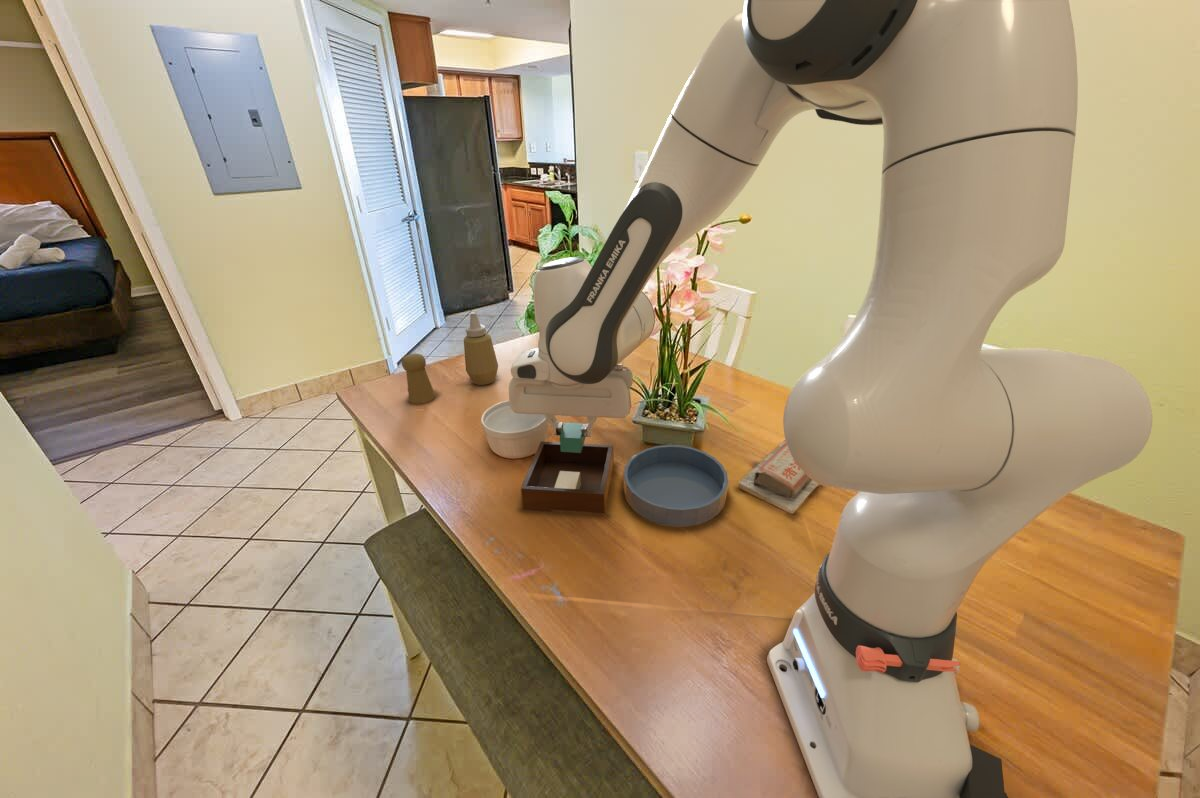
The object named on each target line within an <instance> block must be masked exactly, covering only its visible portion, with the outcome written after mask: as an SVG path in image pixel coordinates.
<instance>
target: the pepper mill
mask: <svg viewBox="0 0 1200 798" xmlns="http://www.w3.org/2000/svg"><path fill="white" fill-rule="evenodd" d="M426 364H427V363H426V358H425V356H423V354H420V353H410V354H406V355H404V357H403V358H402V360H401V367H402V368H403V370H404V371H406V381H407V392H408V401H409V402H410V403H411V404H415V405H421V404H426V403H429V402H431V401H433V400H434V399H435V397H436V393H435V390H434V388H433V385H432V383H431V380H430V377H429V375H428V373H427V370H426Z"/></svg>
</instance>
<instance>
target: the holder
mask: <svg viewBox="0 0 1200 798" xmlns="http://www.w3.org/2000/svg"><path fill="white" fill-rule="evenodd" d="M614 463H615V462H614V445H613V444H597V443H595V444H594V443H584V445H583V448H582V452H581V453H574V452H561V449H560V441H559V442H557V441H546V442H541V443H540V445H539V447H538V449H537V452H536V453H535V454H534V457H533V458H532V462H531V464H530V466H529V469H528V471H527V473H526V475H525V478H524V480H523V483H522V485H521V487H520V492H521V499H522V506H523V511H537V512H538V511H539V512H550V513H551V512H552V511H564V512H565V511H566V512H579V513H594V514H606V508H607V502H608V497H609V491H610V486H611V480H612V476H613V475H612V474H613V468H614ZM560 471H570V472H580V479H581V487H580V489H565V488H554V487H555V484H556V481H557V478H558V475H559V472H560Z"/></svg>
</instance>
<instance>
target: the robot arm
mask: <svg viewBox="0 0 1200 798" xmlns="http://www.w3.org/2000/svg"><path fill="white" fill-rule="evenodd" d="M742 9H743V10H742V11H741V10H740V11H738V13H735V14H733V15H732V16H730V17H729V18H728V19H727V20H726V21H725V22H724V24H723V25H722V26H721V27H720V29H719V30H718V32H717V33H716V34H715V36H714V37H713V38H712V40H711V42H710V43H709V45H708V46H707V48H706V49H705V51H704V53H702V55H701V57H700V59H699V60H698V61H697V64H696V65H695V67H694V68H693V70H692V72H691V74H690V75H689V78H688V79H687V81H686V82H685V84H684V86H683V88H682V90H681V92H680V94H679V95H678V97H677V100H676V101H675V103H674V105H673V108H672V110H671V112H670V114H669V116H668V118H667V120H666V123H665V124H664V127H663V129H662V131H661V133H660V135H659V138H658V140H657V142H656V144H655V146H654V148H653V150H652V152H651V155H650V157H649V159H648V162H647V163H646V166H645V167H644V169H643V172H642V174H641V176H640V177H639V180H638V182H637V184H636V186H635V187H634V189H633V191H632V193H631V195H630V197H629V200H628V202H627V204H626V205H625V207H624V209H623V211H622V213H621V214H620V216H619V218H618V219H617V222H616V223H615V225H614V227H613V228H612V230H611V232H610V233H609V234H608V235H609V236H608V237H607V239H606V241H605V243H604V244H603V246H602V248H601V250H600V252H599V253H598V256H597V257H596V259H595V261H594V263H593V264H592V265H591V263H590V262H589V261H588V260H587V259H585V258H583V257H578V256H569V257H562V258H559V259H556V260H552V261H549V262H547V263H545V264H542V265H541V266H539V268H538V269H537V270H536V272H535V274H534V280H533V309H534V320H535V324H536V326H537V329H538V334H539V336H538V342H537V346H536V347H534V348H530V349H526V350H523V351H522V352H520V353H519V355H517V357H516V358H515V359H514V360H513V362H512V365H511V367H510V375H511V377H512V378H511V380H510V382H509V383H508V384H509V386H508V400H509V404H510V408H511V409H512V410H513V411H514V412H515V413H519V414H541V415H545V418H546V420H547V422H548V425H550V427H551V428H552V434H553V436H560V435H561V432H562V429H563V427H564V422H561V421H559V420H558V419H557V417H556V416H562V417H563V416H564V417H565V416H566V417H586V421H587V423H585V424H583V425H582V428H581V432H582V437H586V438H591V435H592V427H593V426H594V425H595V423H596V421H597V418H604V419H605V418H607V419H608V418H609V419H625V418H627V417H628V415H630V413H631V409H632V408H631V407H632V399H631V390H630V389H631V387H632V385H633V380H634V379H633V378H634V377H633V372H632V370H631V369H630V368H629V367H628V366H625V365H624V363H621V362H623V361H624V360H625V359H626V358H628V356H629V355H631V354H632V353H633V352H634V351H635V350H636V349H638V348H639V347H640V346H641V345H642V344H643V343H644V342H645V341H646V340H647V339H649V337H650V336H651V334H652V333H653V331H654V329H655V324H656V315H655V309H654V307H653V304H652V302H651V301H650V299H649V297H648V296H647V295H646V294H645V293H644V292H643V290H644V289H645V287H646V286H647V284H648V282H649V281H650V279H651V278H652V276H653V274H654V273H655V272H656V270H657V269H658V268H659V266H660V265H661V264H662V263H663V262H664V261H665V259H667V258H668V257H669V256H670V255H671V254H672V253H673V252H674V251H675V250H677V248H679V247H680V246H682V245H683V244H684V243H685V242H686V241H688V240H689V239H691V238H692V237H693V236H694V235H696V234H698V233H699V232H701V231H702V230H703V229H705V228H706V227H707V226H709V225H710V224H712V223H713V222H715V221H716V220H717V219H718V218H719V217H721V215H722V214H723V213H724V212H725V211H726V210H727V209H728V207H730V205H731V204H732V203H733V202H734V201H735V200H736V199H737V197H738V196H739V195H740V193H741V192H742V191H743V189H744V188H745V187H746V186H747V184H748V183H749V181H750V180H751V179H752V177H753V176H754V174H755V172H756V171H757V170H758V168H759V166H760V164H761V163H762V161H763V160H764V158H765V156H766V154H767V153H768V151H769V149H770V148H771V146H772V144H773V142H774V141H775V140H776V138H777V136H778V135H779V134H780V132H781V131H782V130H783V128H784V127H785V126H786V124H787V123H789V122H790V121H791V120H792V119H793V118H794V117H796V116H798V115H799V114H801V113H804V112H806V111H810V110H814V111H815V113H816V115H817V116H818V118H820V119H822V120H829V121H835V122H844V123H847V124H853V125H857V126H858V125H859V126H881V125H882V127H883V147H882V164H881V182H880V183H881V185H880V204H879V205H880V206H879V219H878V230H877V240H876V249H875V257H874V265H873V269H872V273H871V278H870V282H869V286H868V287H867V291H866V294H865V297H864V299H863V301H862V304H861V306H860V308H859V310H858V311H857V313H856V316H855V318H854V319H853V321H852V322H851V324H850V325H849V328H848V329H847V330H846V332H845V333H844V334H843V336H842V337H841V339H840V340H839V341H838V342H837V343H836V344H835V345H834V347H833V348H832V349H831V350H830V351H829V352H828V353H827V354H826V355H825V356H824V357H823V358H821V359H820V360H819V361H817V362H815V364H814V365H812V366H810V367H809V368H808V369H806V371H804V372H803V374H802V375H800V376H799V378H798V379H797V380H796V382H795V384H794V385H793V386H792V388H791V390H790V392H789V394H788V396H787V399H786V402H785V406H784V410H783V418H782V426H783V427H782V428H783V434H784V440H786V443H787V446H788V448H789V451H790V453H791V455H792V457H793V459H794V460H795V462H796V463H797V464H798V466H799V467H800V468H801V469H802V471H803V472H804V473H805V474H806V475H807V476H808V477H809V478H811V479H812V480H813V481H814V482H816V483H818V484H820V485H819V486H824V487H830V488H834V489H840V490H841V489H842V490H848V491H853V492H857V493H856V494H854V495H853V496H852V497H851V498H850V499H849V500H848V502H847V503H846V505H845V506H844V507H843V510H842V511H841V514H840V517H839V520H838V524H837V527H836V531H835V533H834V538H833V541H832V543H831V548H830V551H829V552H828V553H827V554H826V555H825V557H824V558H823V561H822V563H821V564H820V565H819V568H818V571H817V574H816V581H815V585H814V592H813V593H812V594H811V596H810V597H808V598H807V600H806V601H805V602H803V604H801V606H799V607H798V608H797V610H796V611H795V612H794V613H793V614H794V615H793V617H792V619H791V622H790V623H789V626H788V629H787V631H786V634H785V636H784V639H783V641H782V642H780V643H778V644H777V645H775V646H774V647H772V648H771V649H770V650H769V652H768V654H767V657H766V662H767V666H768V668H769V671H770V673H771V675H772V679H773V681H774V683H775V686H776V689H777V692H778V694H779V697H780V700H781V702H782V705H783V707H784V711H785V712H786V716H787V718H788V721H789V723H790V726H791V729H792V731H793V734H794V736H795V740H796V742H797V743H798V747H799V749H800V752H801V754H802V757H803V760H804V762H805V765H806V767H807V771H808V773H809V775H810V778H811V780H812V784H813V785H814V788H815V791H816V794H817V796H818V798H1009V796H1008V795H1007V793H1006V792H1005V783H1004V773H1003V763H1002V759H1001V757H997V756H995V755H993V754H991V753H990V752H987V751H986V750H984V749H981V748H980V747H977V746H975V745H973V744H970V740H969V735H968V732H970V733H977V732H978V730H979V728H980V717H979V713H978V710H977V708H976V706H975V705H973V704H972V703H968V702H965V701H961V696H960V692H959V687H958V683H957V679H956V675H957V674H959V673H960V666H961V662H960V661H958V659H956V658H954V650H955V639H956V637H957V635H958V623H957V619H958V609H959V607H960V606H961V604H962V602H963V600H964V599H965V597H966V596H967V594H968V591H969V590H970V588H971V586H972V585H973V583H974V581H975V579H976V578H977V576H978V574H979V573H980V572H981V571H982V569H983V568H984V566H985V565H986V564H987V563H988V562H989V561H990V559H991V558H992V557H993V556H994V555H995V554H996V553H997V552H999V551H1000V549H1002V548H1003V547H1004V546H1005V545H1006V544H1007V543H1008V542H1009V541H1011V540H1012V539H1013V538H1014V537H1016V536H1017V535H1018V534H1019V533H1021V531H1023V530H1024V529H1025V528H1027V526H1029V525H1030V524H1032V522H1033V521H1035V520H1036V519H1037V518H1039V516H1041V515H1042V514H1043V513H1045V512H1046V511H1047V510H1049V509H1050V508H1051V507H1052V506H1054V505H1055V504H1056V503H1058V502H1059V501H1060V500H1062V499H1063V498H1065V497H1066V496H1068V495H1069V494H1071V493H1073V492H1074V491H1076V490H1077V489H1079V488H1082V486H1084V485H1086V484H1088V483H1090V482H1092V481H1095V480H1097V479H1099V478H1101V477H1103V476H1105V475H1107V474H1109V473H1112V472H1114V471H1117V470H1120V469H1122V468H1123V467H1125V466H1127V465H1128V464H1130V463H1132V462H1133V461H1134V460H1135V459H1136V458H1137V457H1138V456H1139V455H1140V454H1141V453H1142V451H1143V450H1144V449H1145V447H1146V445H1147V443H1148V442H1149V439H1150V436H1151V433H1152V428H1153V410H1152V409H1153V408H1152V404H1151V401H1150V399H1149V396H1148V394H1147V391H1146V390H1145V389H1144V386H1143V385H1142V383H1140V381H1139V380H1138V379H1137V378H1136V376H1134V374H1132V373H1131V372H1130V371H1129V370H1128V369H1126V368H1124V367H1123V366H1122V365H1120V364H1119V363H1116V362H1114V361H1112V360H1109V359H1106V358H1102V357H1099V356H1093V355H1090V354H1089V355H1087V354H1083V353H1079V352H1073V351H1066V350H1059V349H1051V348H1045V347H1015V348H1011V347H1010V348H992V349H991V348H989V349H982V348H983V344H984V341H985V339H986V336H987V334H988V332H989V330H990V327H991V325H992V324H993V323H994V320H996V317H997V315H999V313H1000V311H1001V310H1002V309H1003V307H1005V305H1006V304H1007V303H1008V302H1009V301H1010V299H1011V298H1013V297H1014V296H1015V295H1017V294H1018V293H1019V292H1021V291H1023V290H1025V289H1027V288H1029V287H1030V286H1032V285H1034V284H1036V283H1037V282H1039V281H1040V280H1042V279H1043V278H1044V277H1045V276H1046V275H1048V273H1050V272H1051V271H1052V270H1053V268H1054V267H1055V266H1056V264H1057V263H1058V261H1059V260H1060V258H1061V256H1062V253H1063V252H1064V249H1065V242H1066V235H1067V233H1066V232H1067V223H1068V213H1069V203H1070V194H1071V183H1072V172H1073V164H1074V163H1073V162H1074V152H1075V144H1076V134H1077V120H1078V102H1079V101H1078V96H1079V95H1078V93H1079V91H1078V90H1079V89H1078V86H1079V82H1078V81H1079V79H1078V77H1079V76H1078V60H1077V59H1078V57H1077V48H1076V38H1075V29H1074V24H1073V19H1072V13H1071V6H1070V1H1069V0H744V2H743V8H742ZM781 669H783V671H782V670H781Z"/></svg>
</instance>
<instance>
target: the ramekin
mask: <svg viewBox="0 0 1200 798" xmlns="http://www.w3.org/2000/svg"><path fill="white" fill-rule="evenodd" d="M480 423H481V427H482V430H483V431H484V434H485V438H486V440H487V443H488V447H489V448H490V449H491V451H492V452H493V453H495V454H496V455H498V456H499V457H502V458H505V459H514V460H516V459H524V458H528V457H531V456H533V455H535V454H536V452H537V449H538V447H539V445H540V443H541V442H548V438H549V423H548V422H547V420H546V418H545V415H541V414H519V413H515V412H514V411H513V410H512V409H511V408H510V404H509V399H506V400H503V401H500V402H498V403H495V404H492V405H491V406H490V407H488V408H487V409H486V410H485V411H484V412H483V413H482V415H481V418H480Z"/></svg>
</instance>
